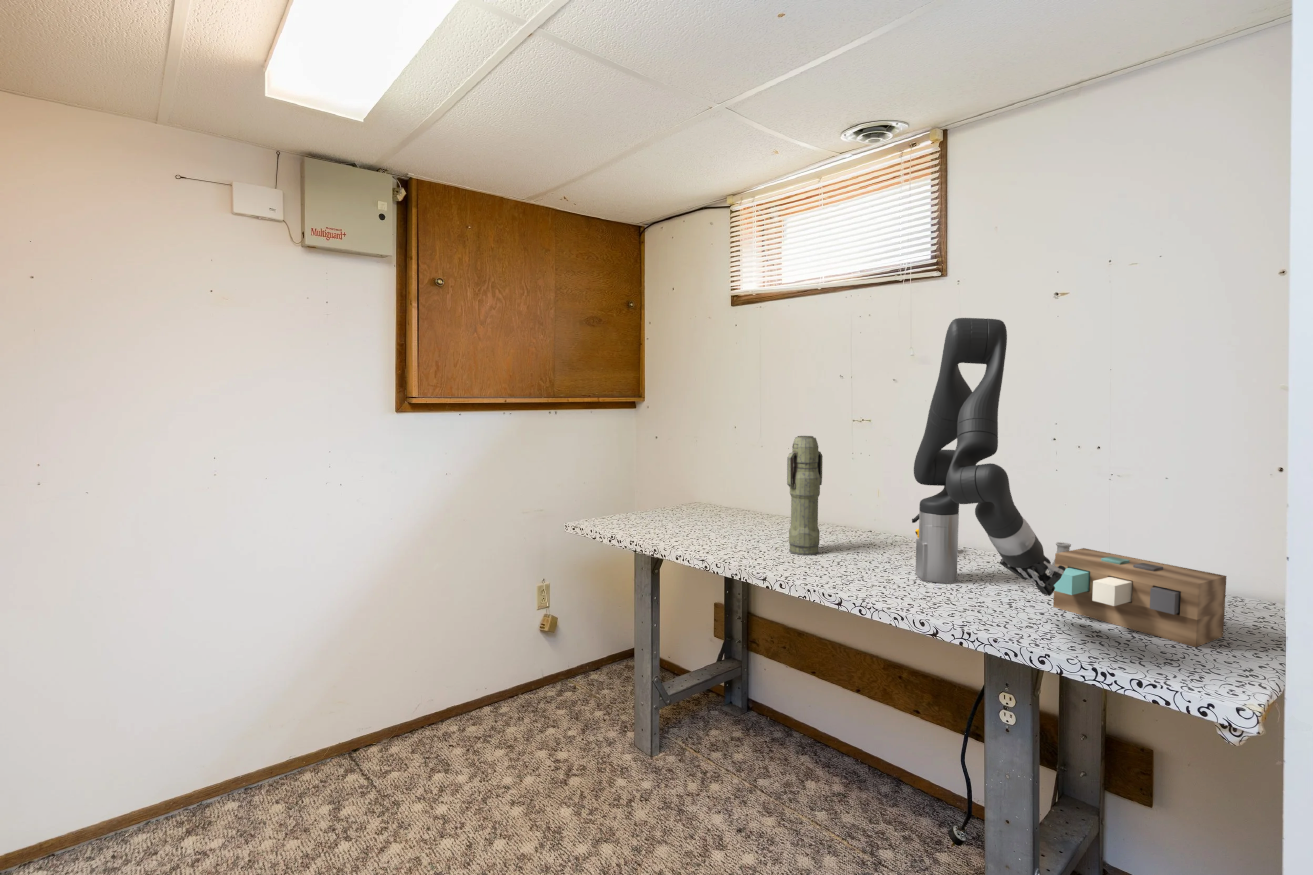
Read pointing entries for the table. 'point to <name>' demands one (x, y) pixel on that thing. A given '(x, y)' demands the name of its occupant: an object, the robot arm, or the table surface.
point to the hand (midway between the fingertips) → (1048, 591)
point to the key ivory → (1112, 591)
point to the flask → (1062, 548)
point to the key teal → (1073, 581)
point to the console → (1197, 601)
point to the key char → (1165, 600)
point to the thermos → (804, 495)
